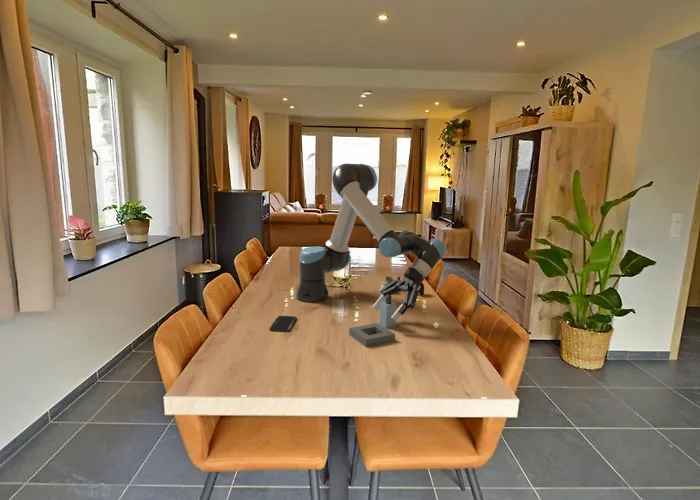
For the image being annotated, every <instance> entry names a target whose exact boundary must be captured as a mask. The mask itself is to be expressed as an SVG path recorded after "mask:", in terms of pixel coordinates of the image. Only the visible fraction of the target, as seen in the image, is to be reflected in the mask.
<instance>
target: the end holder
mask: <svg viewBox="0 0 700 500" xmlns="http://www.w3.org/2000/svg"><path fill="white" fill-rule="evenodd" d="M348 335H349V336H351V338H353V339H355V340H356V341H358V342H359V343H360V344H361V345H363V346H364V347H369V346H370V347H371V346H375V345H379V344H385V343H390V342H395V341H396V334H395V332H393V331H391V330H389V328H385V327H383V326H382V325H380V323H378V322H375V323H370V324H365V325H359V326H353V327H349V328H348Z"/></svg>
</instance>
